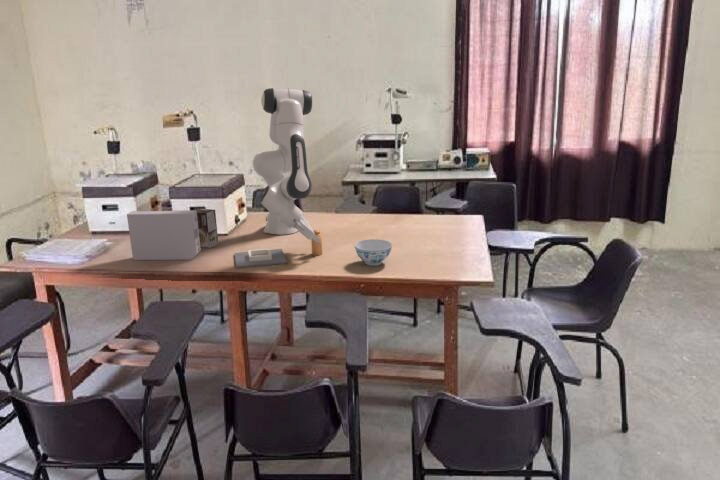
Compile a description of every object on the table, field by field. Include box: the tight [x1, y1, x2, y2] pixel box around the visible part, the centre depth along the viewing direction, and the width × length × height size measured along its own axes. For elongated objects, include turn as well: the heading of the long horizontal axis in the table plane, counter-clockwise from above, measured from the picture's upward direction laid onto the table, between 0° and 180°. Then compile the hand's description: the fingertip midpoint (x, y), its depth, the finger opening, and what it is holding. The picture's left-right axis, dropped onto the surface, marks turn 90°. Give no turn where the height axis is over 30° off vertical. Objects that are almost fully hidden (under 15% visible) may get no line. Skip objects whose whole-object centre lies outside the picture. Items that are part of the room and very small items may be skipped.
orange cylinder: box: [310, 229, 323, 257], centre depth 248 cm, size 4×4×10 cm
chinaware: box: [354, 238, 393, 267], centre depth 236 cm, size 15×15×8 cm
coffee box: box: [195, 207, 219, 249], centre depth 263 cm, size 9×6×16 cm
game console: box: [126, 209, 201, 261], centre depth 246 cm, size 6×27×20 cm, turn 88°
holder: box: [234, 248, 288, 269], centre depth 244 cm, size 18×20×3 cm
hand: (317, 238), depth 248 cm, fingers open, 8 cm apart
